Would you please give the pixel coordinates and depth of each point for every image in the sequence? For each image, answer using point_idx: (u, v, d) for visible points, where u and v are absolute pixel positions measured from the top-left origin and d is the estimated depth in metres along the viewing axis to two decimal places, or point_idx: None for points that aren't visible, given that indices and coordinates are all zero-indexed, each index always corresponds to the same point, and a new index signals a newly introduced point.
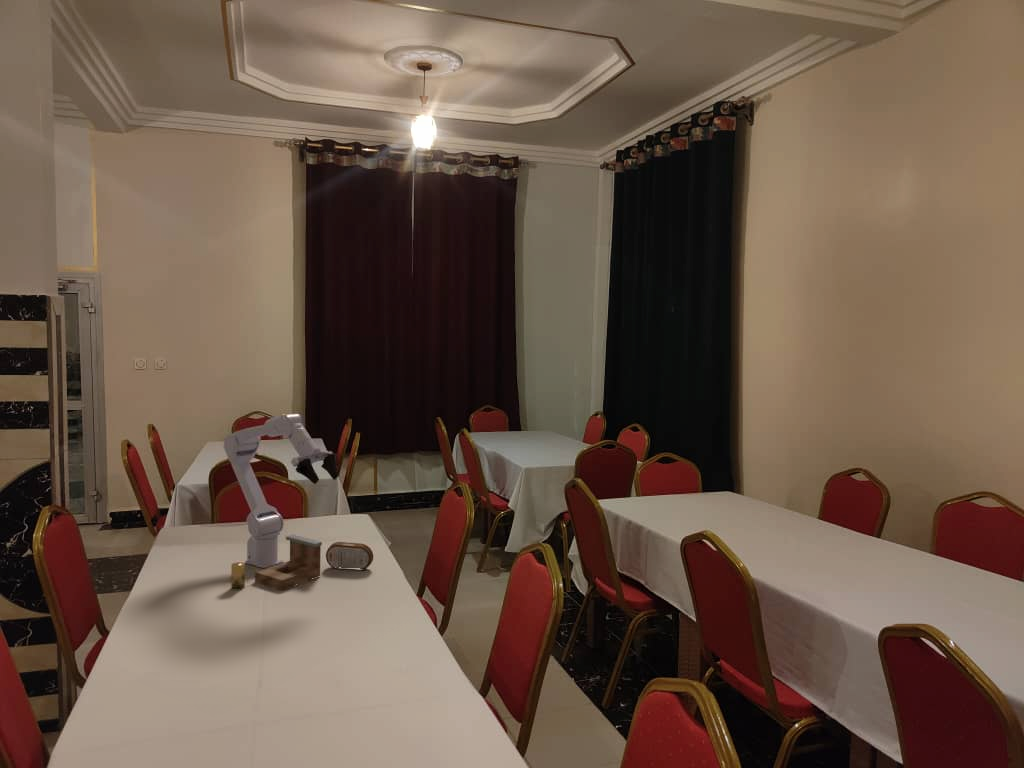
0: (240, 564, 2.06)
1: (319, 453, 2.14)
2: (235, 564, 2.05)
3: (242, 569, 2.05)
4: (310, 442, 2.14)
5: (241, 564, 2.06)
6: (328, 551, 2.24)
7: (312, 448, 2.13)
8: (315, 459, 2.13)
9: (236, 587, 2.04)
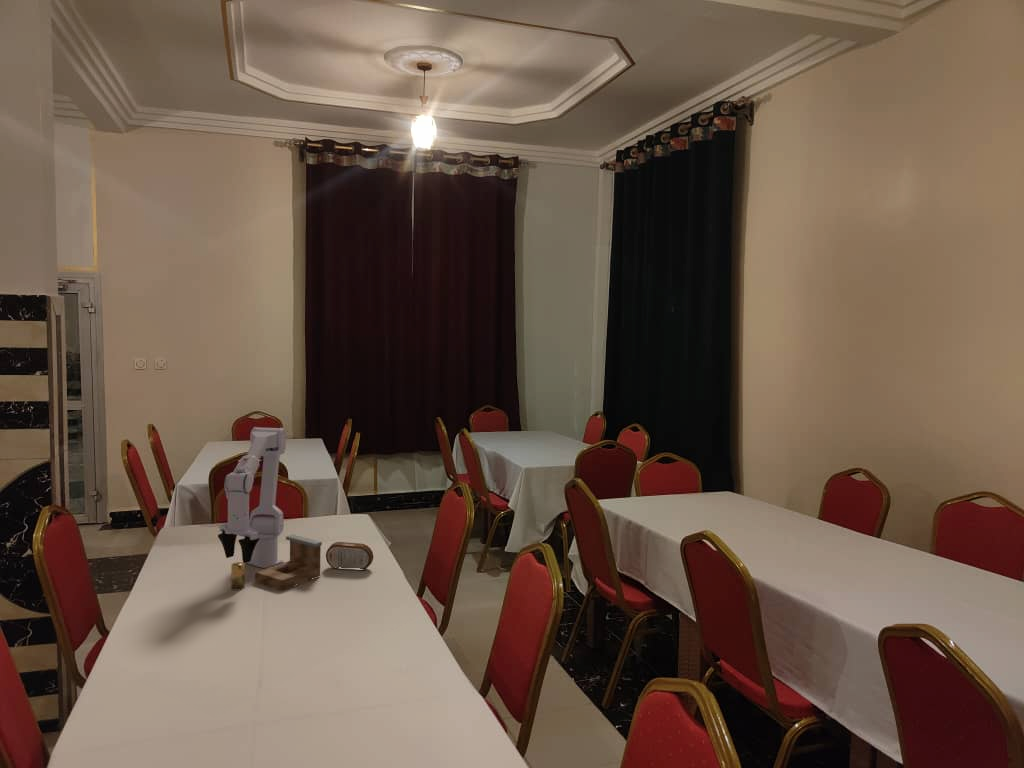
0: (240, 564, 2.06)
1: None
2: (235, 564, 2.05)
3: (242, 569, 2.05)
4: (229, 520, 2.02)
5: (241, 564, 2.06)
6: (328, 551, 2.24)
7: (228, 527, 2.03)
8: (238, 534, 2.05)
9: (236, 587, 2.04)
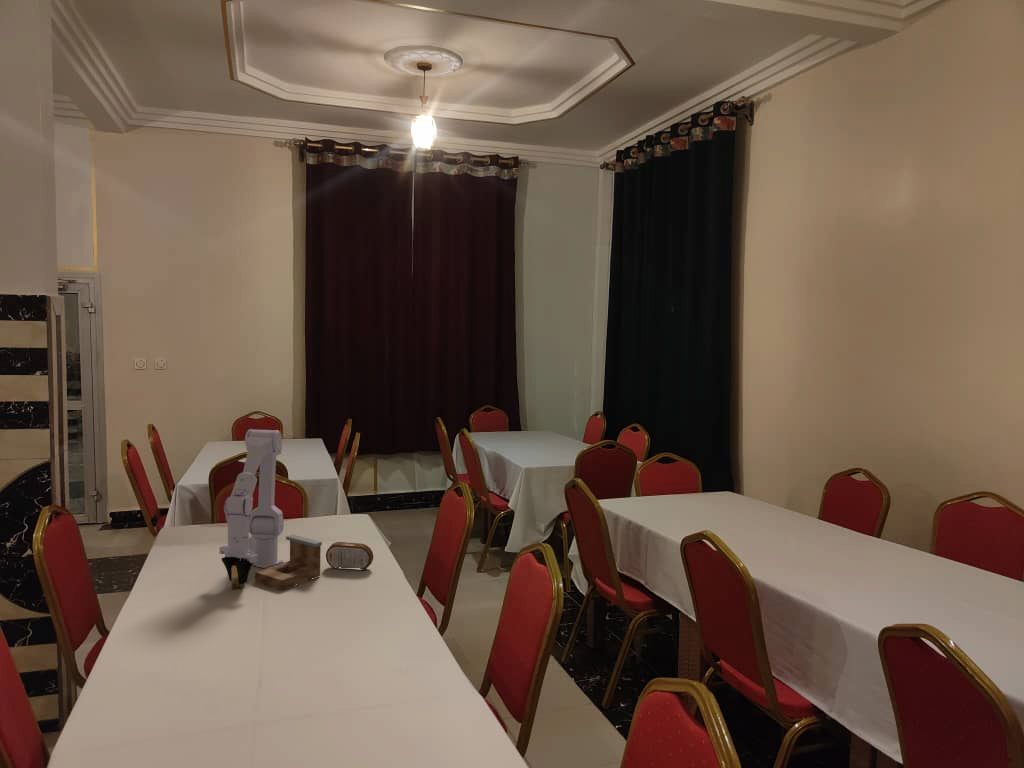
0: None
1: None
2: None
3: None
4: (229, 543, 2.03)
5: None
6: (328, 551, 2.24)
7: (228, 549, 2.03)
8: (237, 556, 2.05)
9: (236, 587, 2.04)
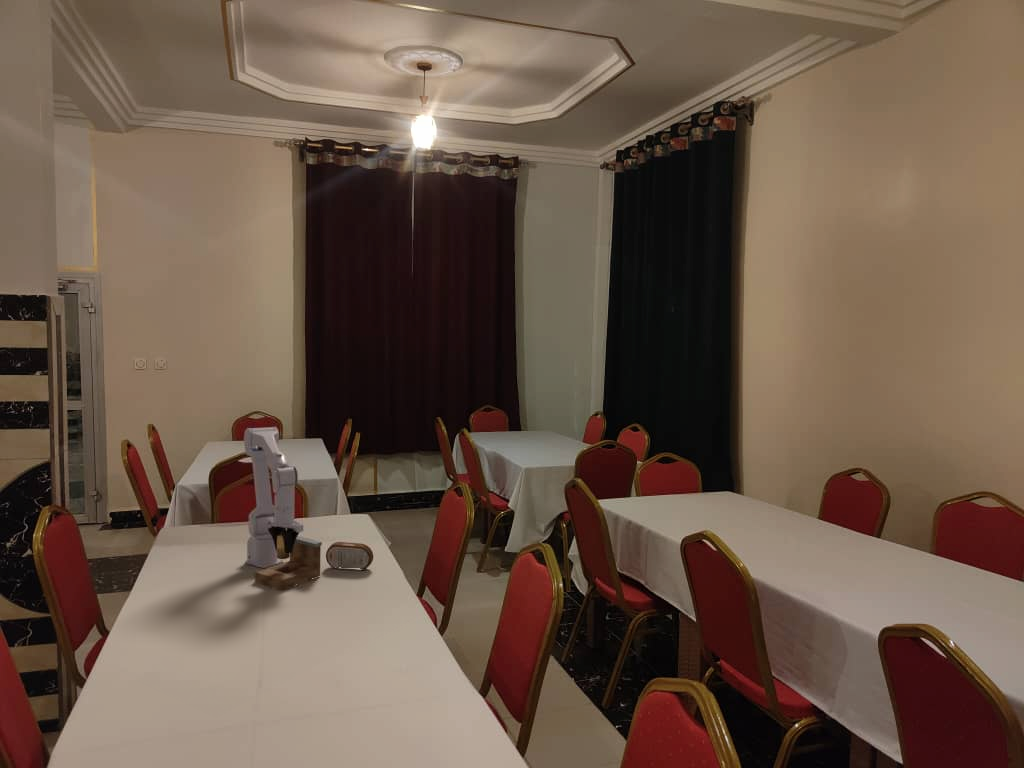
0: None
1: None
2: (280, 534, 2.12)
3: None
4: (276, 513, 2.10)
5: None
6: (328, 551, 2.24)
7: (275, 519, 2.10)
8: (283, 526, 2.12)
9: (281, 556, 2.11)
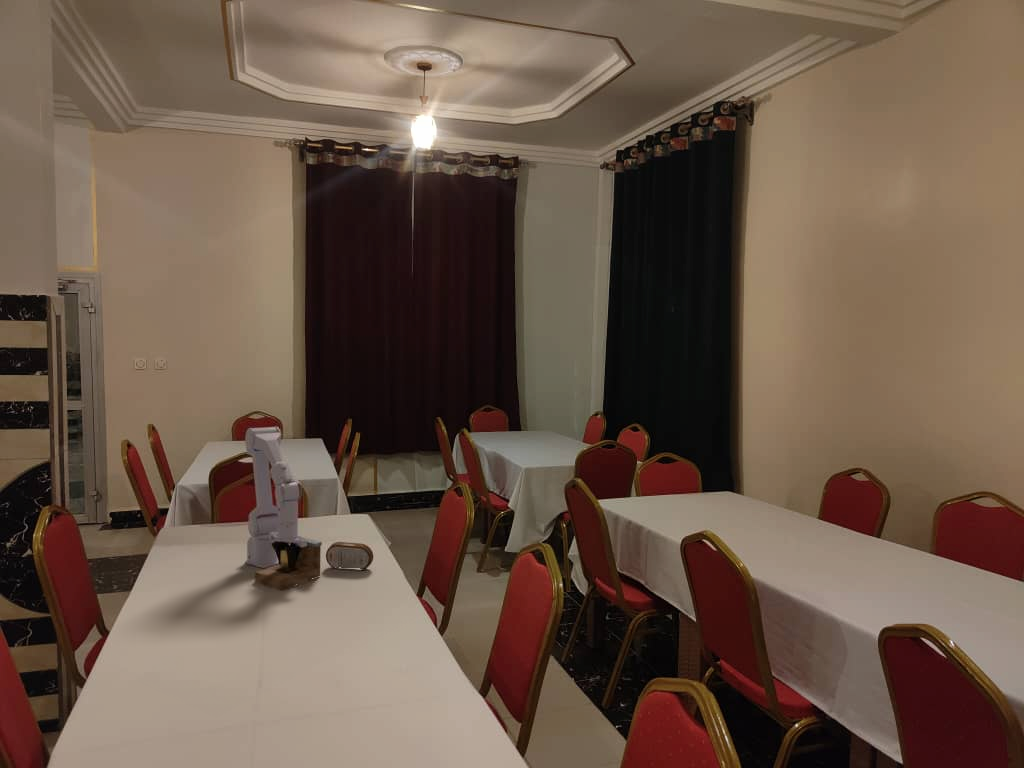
0: None
1: None
2: (284, 549, 2.13)
3: None
4: (280, 528, 2.11)
5: None
6: (328, 551, 2.24)
7: (279, 534, 2.11)
8: (287, 541, 2.13)
9: (285, 571, 2.12)
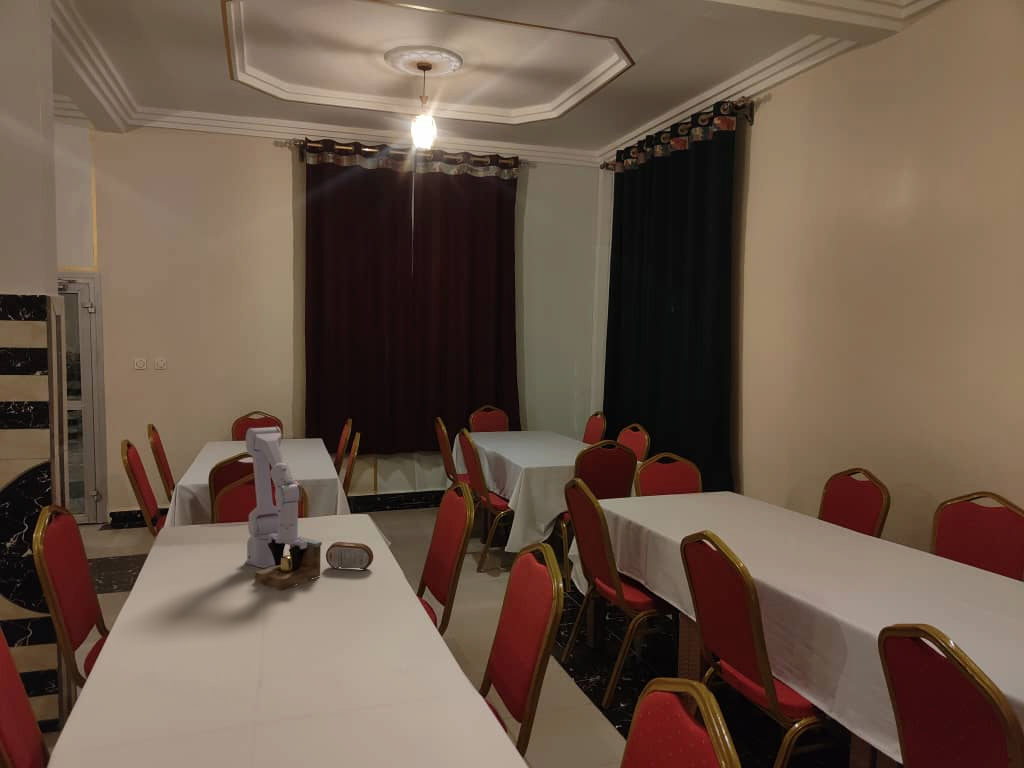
0: (289, 557, 2.13)
1: None
2: (284, 557, 2.13)
3: (291, 561, 2.13)
4: (280, 529, 2.11)
5: (290, 557, 2.13)
6: (328, 551, 2.24)
7: (278, 536, 2.11)
8: (287, 543, 2.13)
9: None
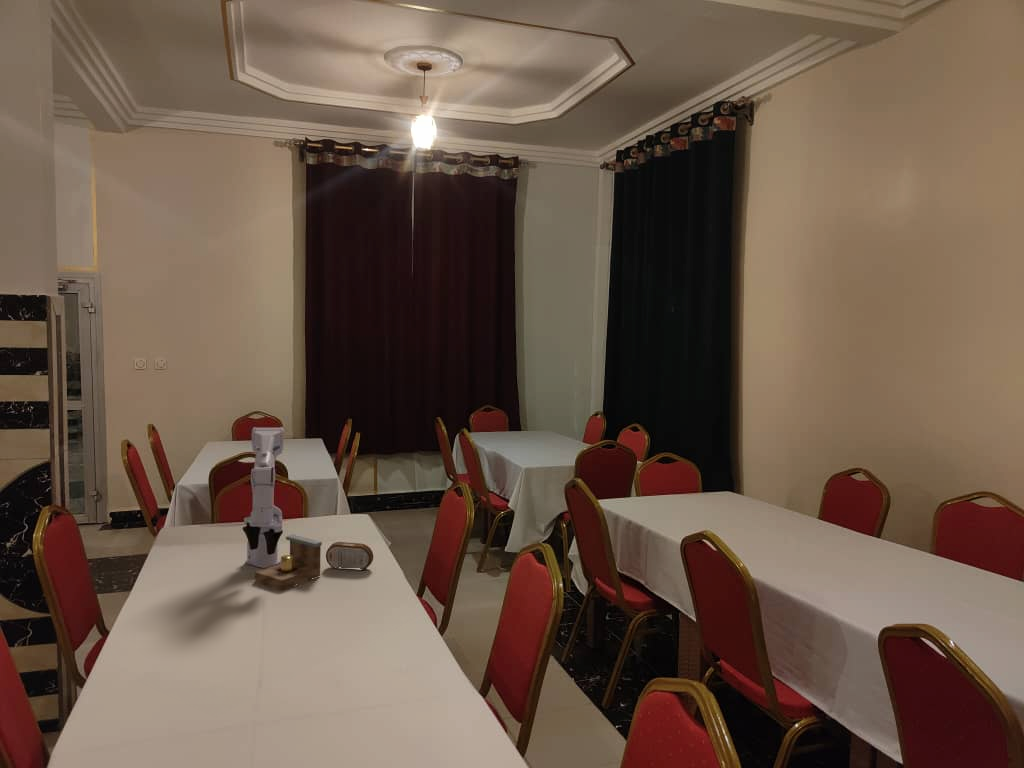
0: (289, 557, 2.13)
1: None
2: (284, 557, 2.13)
3: (291, 561, 2.13)
4: (254, 512, 2.07)
5: (290, 557, 2.13)
6: (328, 551, 2.24)
7: (253, 519, 2.08)
8: (262, 526, 2.09)
9: None
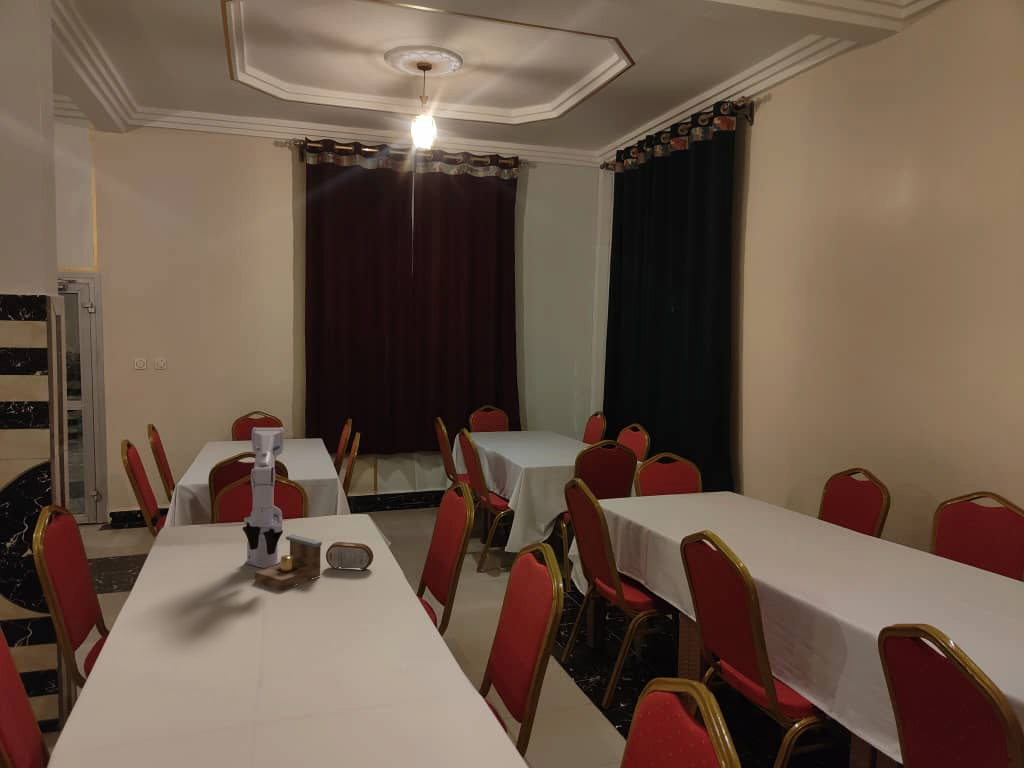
0: (289, 557, 2.13)
1: None
2: (284, 557, 2.13)
3: (291, 561, 2.13)
4: (254, 512, 2.07)
5: (290, 557, 2.13)
6: (328, 551, 2.24)
7: (253, 519, 2.08)
8: (262, 526, 2.09)
9: None
